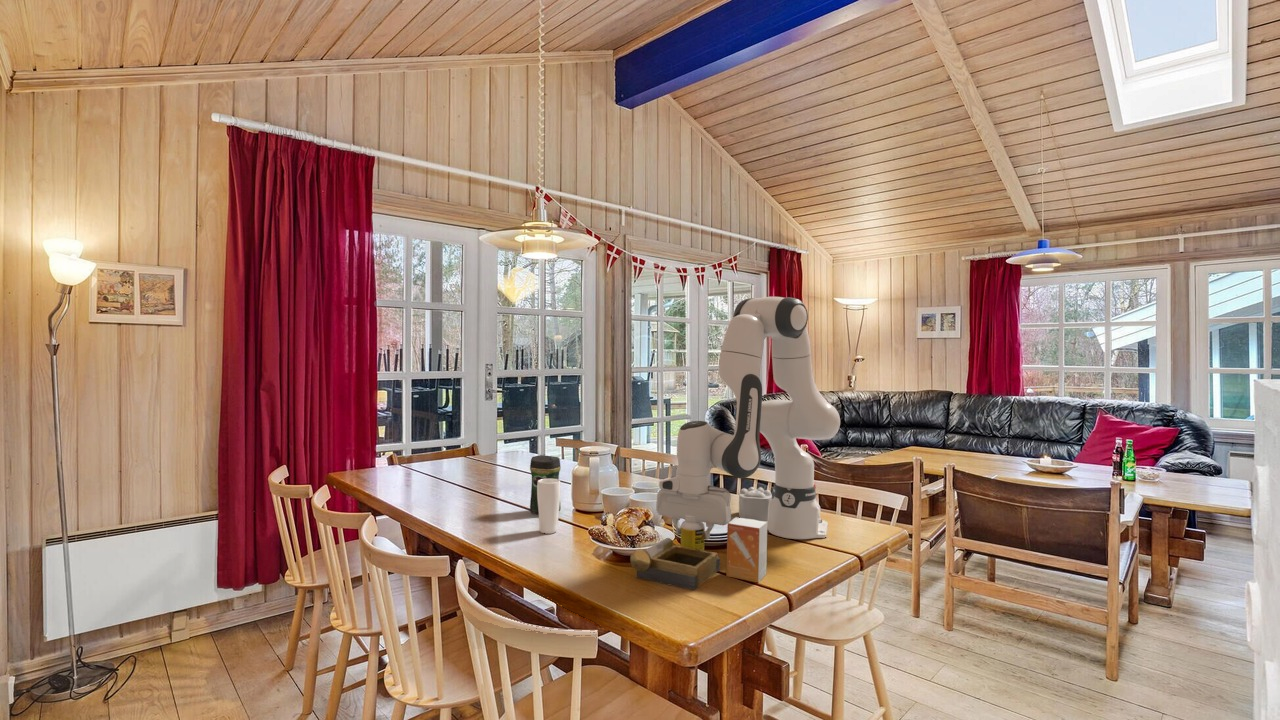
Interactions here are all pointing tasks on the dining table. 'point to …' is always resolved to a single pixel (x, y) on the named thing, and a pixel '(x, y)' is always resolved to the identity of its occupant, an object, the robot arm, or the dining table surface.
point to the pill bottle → (692, 533)
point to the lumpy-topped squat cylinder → (754, 503)
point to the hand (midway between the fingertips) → (692, 536)
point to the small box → (746, 549)
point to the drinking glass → (548, 504)
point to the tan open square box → (675, 564)
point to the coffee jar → (542, 475)
